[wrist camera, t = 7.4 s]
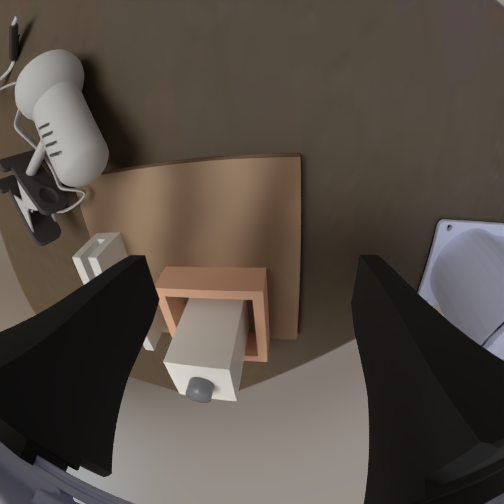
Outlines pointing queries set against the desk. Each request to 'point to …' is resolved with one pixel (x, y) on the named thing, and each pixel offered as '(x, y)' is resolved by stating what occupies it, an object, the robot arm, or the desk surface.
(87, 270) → the clips
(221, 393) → the connector plug
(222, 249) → the board
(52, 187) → the clip-on lamp
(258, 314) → the frame
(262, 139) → the desk surface
